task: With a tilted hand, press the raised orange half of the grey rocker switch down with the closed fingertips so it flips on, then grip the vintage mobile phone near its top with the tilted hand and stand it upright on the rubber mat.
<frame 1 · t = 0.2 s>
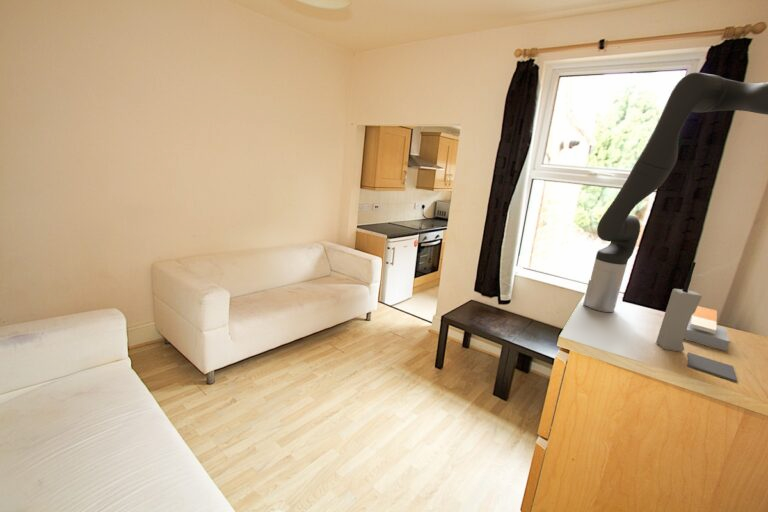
vintage mobile phone: (668, 348, 98), on the table
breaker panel: (697, 336, 107), on the table
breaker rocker: (703, 318, 106), point 6 cm above the table, hinge at 14.0°
rubber mat: (710, 367, 89), on the table
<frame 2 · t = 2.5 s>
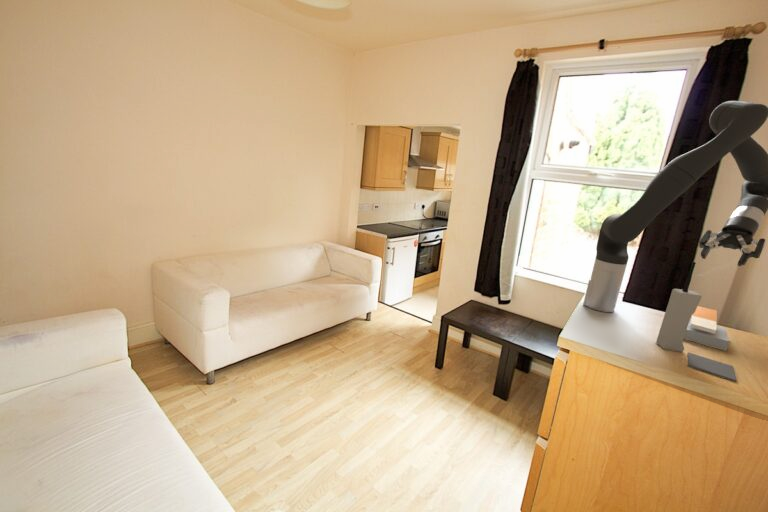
hand: (720, 260, 109), 23 cm above the table, tool tilted 45°, fingers open, 8 cm apart
nothing on the table moved.
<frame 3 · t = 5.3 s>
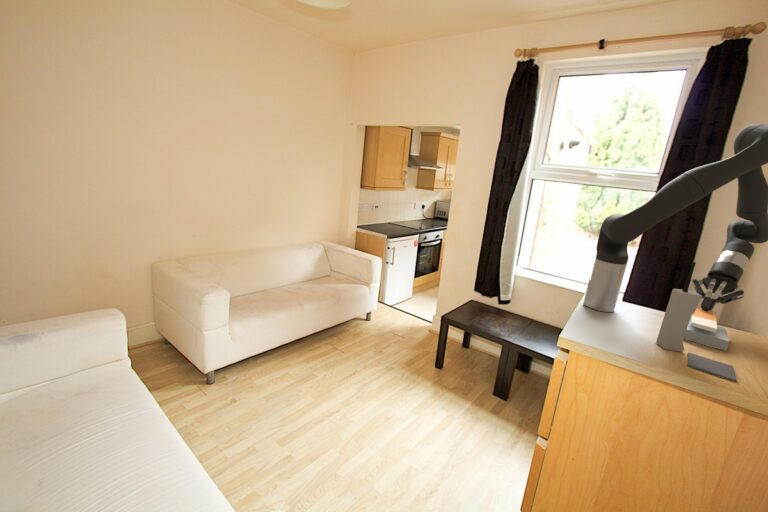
hand: (705, 309, 110), 8 cm above the table, tool tilted 45°, fingers closed
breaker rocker: (703, 318, 106), point 6 cm above the table, hinge at 8.4°, touching gripper
everything else where it was.
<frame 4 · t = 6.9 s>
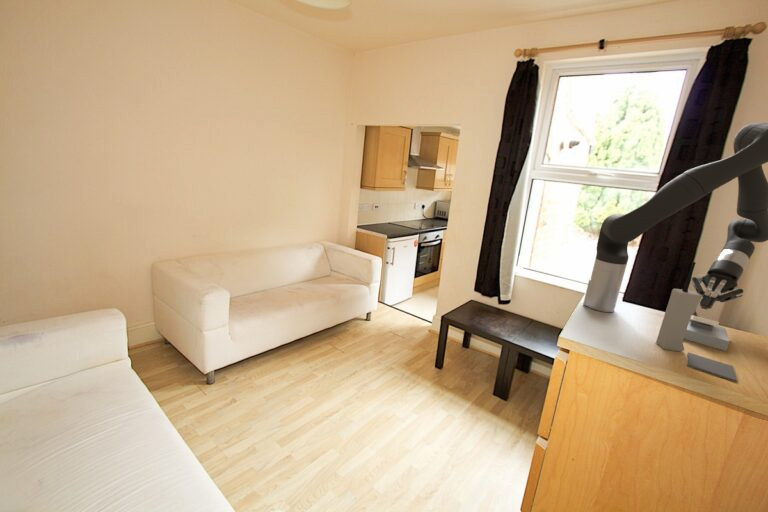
hand: (704, 307, 109), 8 cm above the table, tool tilted 45°, fingers closed
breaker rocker: (703, 320, 107), point 5 cm above the table, hinge at -15.7°
everything else where it was.
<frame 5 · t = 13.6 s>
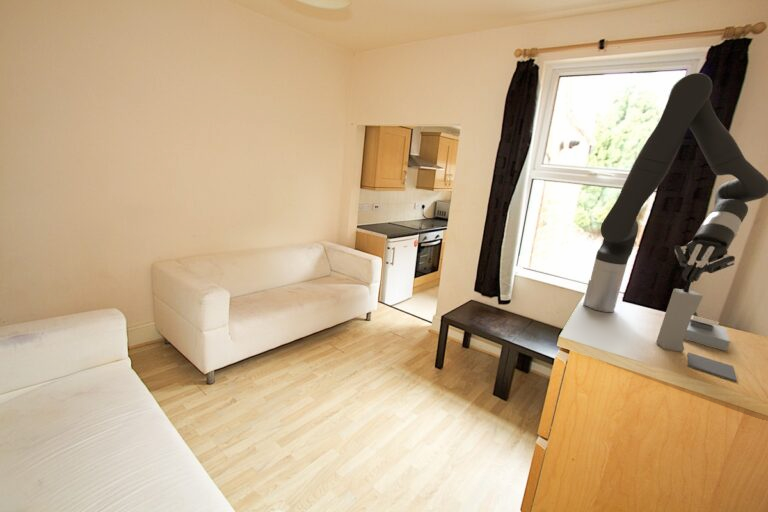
hand: (688, 279, 92), 20 cm above the table, tool tilted 45°, fingers closed on vintage mobile phone
vintage mobile phone: (668, 348, 98), on the table, touching gripper
everything else where it was.
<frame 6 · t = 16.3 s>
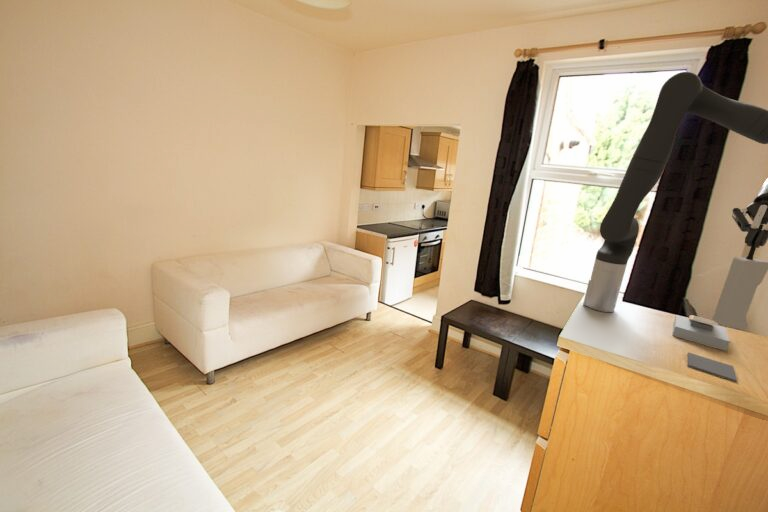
hand: (753, 244, 80), 32 cm above the table, tool tilted 45°, fingers closed on vintage mobile phone
vintage mobile phone: (728, 325, 86), point 12 cm above the table, touching gripper
everything else where it was.
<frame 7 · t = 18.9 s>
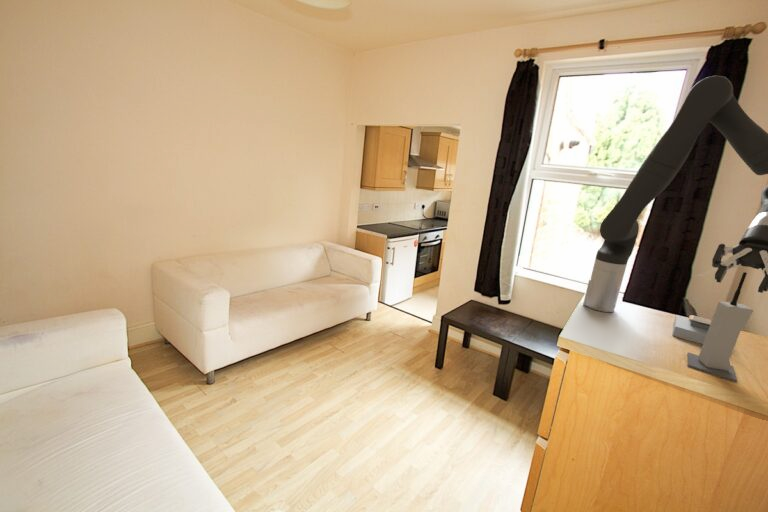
hand: (738, 285, 83), 22 cm above the table, tool tilted 45°, fingers open, 6 cm apart
vintage mobile phone: (712, 366, 89), resting on rubber mat
everything else where it was.
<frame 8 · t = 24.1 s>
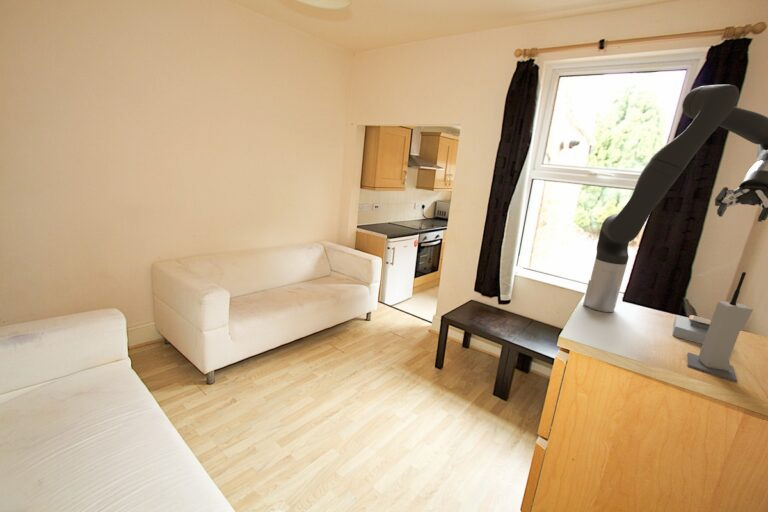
hand: (739, 217, 102), 37 cm above the table, tool tilted 45°, fingers open, 8 cm apart
nothing on the table moved.
at the end: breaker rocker at -16° (first picture: +14°); vintage mobile phone inside the target area (0.4 cm from its centre), resting on rubber mat; vintage mobile phone tilted 0° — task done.
